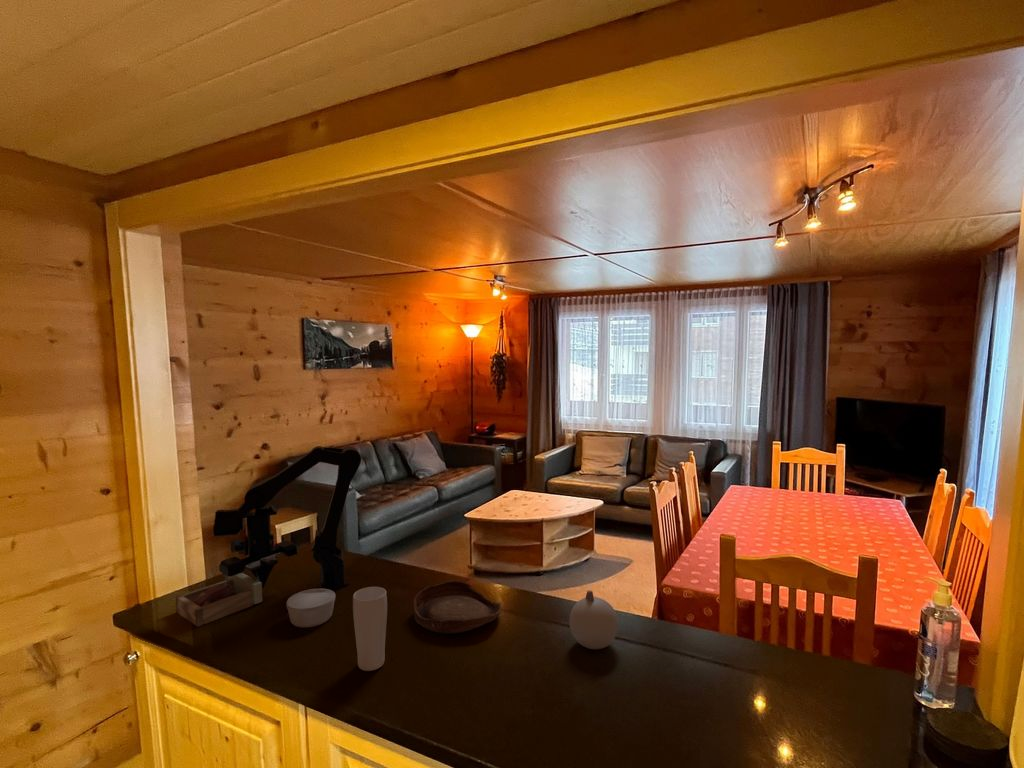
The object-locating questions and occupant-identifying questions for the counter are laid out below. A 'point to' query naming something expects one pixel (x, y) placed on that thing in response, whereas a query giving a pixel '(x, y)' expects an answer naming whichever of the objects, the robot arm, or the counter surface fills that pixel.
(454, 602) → the dark brown shallow dish
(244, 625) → the counter surface
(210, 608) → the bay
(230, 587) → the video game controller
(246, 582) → the gate
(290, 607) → the ramekin
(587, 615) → the ornament
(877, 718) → the counter surface
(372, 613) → the drinking glass
